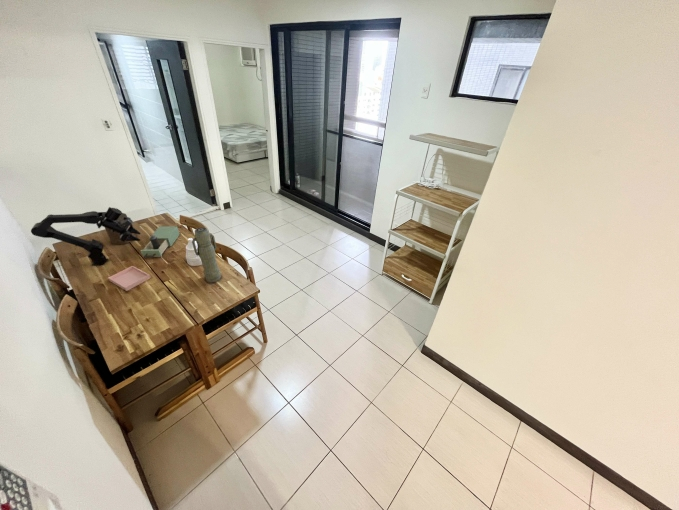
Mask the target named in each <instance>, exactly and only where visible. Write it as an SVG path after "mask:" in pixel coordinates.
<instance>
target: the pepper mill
mask: <svg viewBox="0 0 679 510" xmlns="http://www.w3.org/2000/svg"><path fill="white" fill-rule="evenodd" d="M149 238H150V240H149V242H150V241H151V243H152V246H153V250H156V249H158V248H159V247H160V244H159V242H158V239H157V237H156V236H155V235H152V234H151V235H150V236H149Z"/></svg>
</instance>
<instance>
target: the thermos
mask: <svg viewBox="0 0 679 510" xmlns="http://www.w3.org/2000/svg"><path fill="white" fill-rule="evenodd" d="M193 234H194V238H192V239H193V240H192V244H193V248H194V251H195V254H196V255H197V256H198V255H199V257H200V258H201V261H202V265H201V266H202V268H203V276H204V278H205V281H206V283H209V284H214V283H218V282H219V281H220V280H221V279H222V276H221V269H220V268H219V266H218V262H217V258H216V250H217V247H218V246H217V243H216V239H215V235H214V234H212V233H210V232H209V230H208V229H207V227H203V226H202V227H197V228H196V229H195V230H194V233H193ZM195 241H196V242H197V246H198V247H197V249H196V246H195ZM197 250H198V252H197Z"/></svg>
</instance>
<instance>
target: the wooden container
mask: <svg viewBox="0 0 679 510" xmlns="http://www.w3.org/2000/svg"><path fill="white" fill-rule="evenodd" d="M125 216H126V217H128V215H127V213H125V212H122V214H121V215H120V217H119V218H118V219H117V220H115V222H117V221H119V222H122V221H123V217H125ZM105 218H106V217H105ZM104 230H105V232H106V234H107V236H108V238H109V240H110V242H111V244H113V245H125V244H129V243H131V242H132V241H125V242H123V241H121V240H120V236H121V235H119V233H118V232H115V231H114V232H112V230H110V229H108V228H105V227H104ZM131 234H132V235H133V236H135V237H137V235H136V234H134V233H131Z"/></svg>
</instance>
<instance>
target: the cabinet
mask: <svg viewBox="0 0 679 510" xmlns="http://www.w3.org/2000/svg"><path fill="white" fill-rule="evenodd" d="M151 235H155V236H156V237H157V239H167V240H168V243H169V245H168V247H169V248H170V247H171V248H172V246H173V245H174V243H175V241H176V240H177V239H178V238H179V236H180V230H179V228H178V226H174V225H171V226H168V225H167V226H158V227H157V228H156V229H155V230H154V232H152V234H151ZM148 241H150V237H148ZM168 247H167V248H168Z"/></svg>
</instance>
